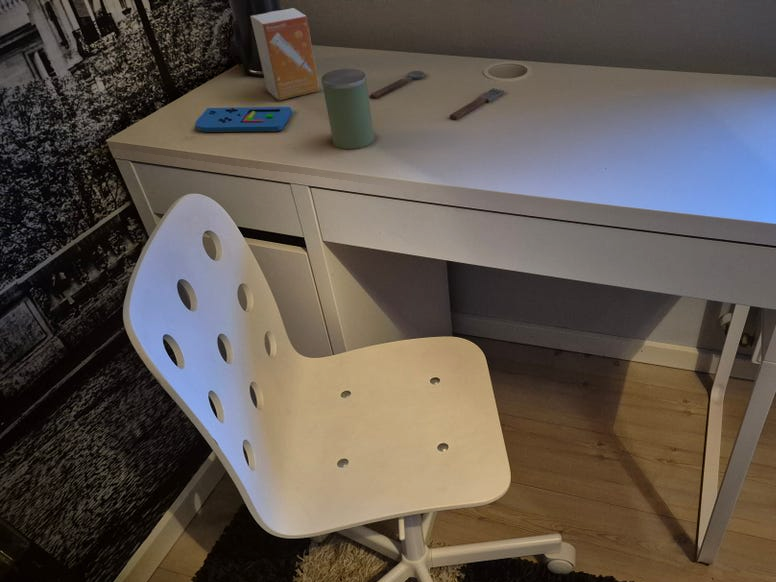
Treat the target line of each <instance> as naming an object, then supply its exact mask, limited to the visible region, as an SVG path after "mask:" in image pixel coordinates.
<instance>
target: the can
mask: <svg viewBox="0 0 776 582" xmlns="http://www.w3.org/2000/svg"><path fill="white" fill-rule="evenodd" d="M367 82H368V81H367V74H366V73H365V72H364V71H362V70H359V69H354V68H341V69H336V70H332V71H328V72H326V73H325V74H323V75H322V76H321V85H322V89H323V95H324V100H325V106H326V111H327V118H328V122H329V128H330V134H331V140H332V143H333V146H335V147H337V148H340V149H343V150H356V149H361V148H365V147H367V146H369V145H371V144H372V143H373V142H374V141H375V135H374V127H373V120H372V113H371V104H370V98H369V97H370V96H369V90H368V83H367Z"/></svg>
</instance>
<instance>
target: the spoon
mask: <svg viewBox="0 0 776 582" xmlns="http://www.w3.org/2000/svg"><path fill="white" fill-rule="evenodd" d="M424 78H425V72H424V71H422V70H412V71H409V72H408V73H407V77H406V78H401V79H398V80H396V81H394V82H392V83H391V84H388V85H386V86H384V87H382V88H380V89H378V90H376V91H374V92H372V93H370V94H369V97H370V98H371V99H375V100H378V99H379V98H381V97H383V96H385V95H387V94H389V93H391V92H393V91H395V90H397V89H399V88H401V87H403V86H405V85H407V84H408V83H409V82H410V81H412V80H413V81H417V80H418V81H419V80H422V79H424Z"/></svg>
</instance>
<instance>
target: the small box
mask: <svg viewBox="0 0 776 582" xmlns="http://www.w3.org/2000/svg"><path fill="white" fill-rule="evenodd" d="M250 17H251V21H252V25H253V30H254V34H255V38H256V43H257V47H258V51H259V56H260V60H261V65H262V69H263V73H264V76H263V77H264V81H265V86H266V90H267V92H268V93H270V95H272V96H273V97H274V98H275V99H277V100H278V101H283V100H286V99H287V100H288V99H291V98H294V97H298V96H299V97H300V96H304V95H308V94H313V93H318V92H320V85H319V80H318V74H317V68H316V67H317V66H316V62H315V57H314V51H313V46H312V40H311V34H310V28H309V22H308V17H307V15H305V14H304V13H303V12H301V11H299V10H298V9H296V8H295V7H291V8H288V9H282V10H280V11H273V12H268V13H264V14H259V15H254V16H250Z"/></svg>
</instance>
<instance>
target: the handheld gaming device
mask: <svg viewBox="0 0 776 582" xmlns="http://www.w3.org/2000/svg"><path fill="white" fill-rule="evenodd" d="M292 114H293V109H292V107H291V106H257V107H255V106H247V107H246V106H244V107H241V106H240V107H239V106H238V107H207V108H206V109H205V110H204V111H203V113H202V114H200V116H199V117H198V118H197V119H196V121H195V123H194V125H195V128H196V130H197V131H199V132H203V133H229V132H231V133H234V132H235V133H236V132H239V133H241V132H281V131H282V130H283V129H284V127H285V125H286V124H287V122H288V121H289V119H290V117H291V116H292Z"/></svg>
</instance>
